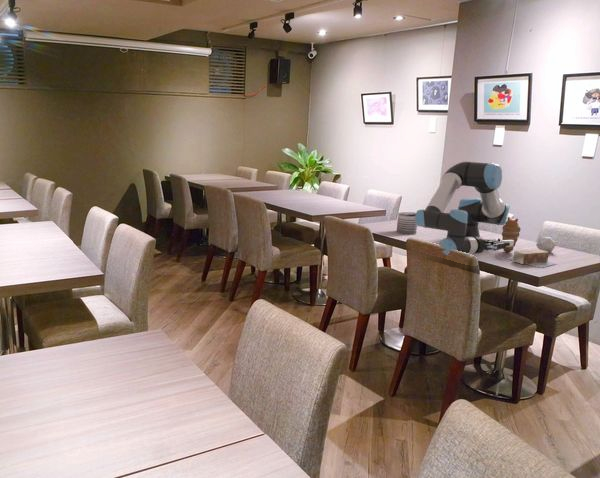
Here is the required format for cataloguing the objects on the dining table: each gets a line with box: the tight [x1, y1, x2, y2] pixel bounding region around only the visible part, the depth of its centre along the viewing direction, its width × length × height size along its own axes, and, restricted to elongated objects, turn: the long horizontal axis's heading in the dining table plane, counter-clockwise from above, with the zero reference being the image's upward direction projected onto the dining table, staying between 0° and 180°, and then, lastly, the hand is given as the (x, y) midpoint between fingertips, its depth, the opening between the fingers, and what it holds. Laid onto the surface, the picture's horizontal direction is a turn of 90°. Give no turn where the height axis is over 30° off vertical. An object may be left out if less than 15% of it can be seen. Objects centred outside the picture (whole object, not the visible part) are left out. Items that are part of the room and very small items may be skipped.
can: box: [396, 211, 418, 236], centre depth 295 cm, size 11×11×12 cm
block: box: [512, 248, 550, 265], centre depth 242 cm, size 5×6×16 cm
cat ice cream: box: [501, 216, 521, 254], centre depth 258 cm, size 9×8×18 cm
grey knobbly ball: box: [535, 236, 557, 254], centre depth 266 cm, size 8×9×10 cm
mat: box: [505, 256, 557, 269], centre depth 244 cm, size 18×14×1 cm
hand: (512, 243), depth 234 cm, fingers closed
